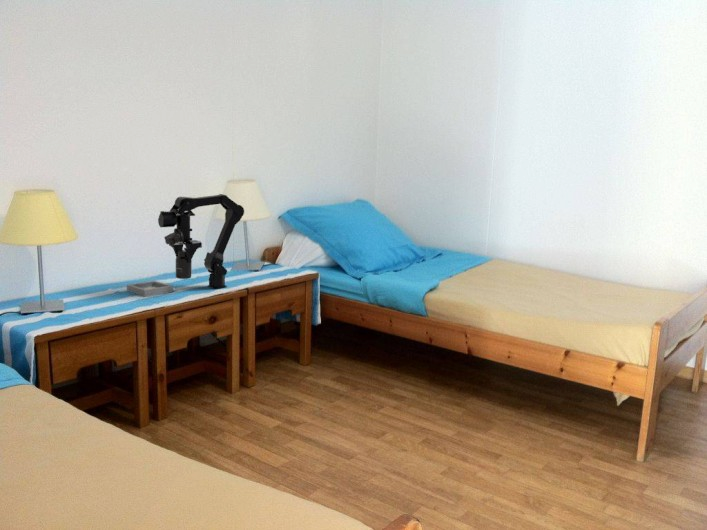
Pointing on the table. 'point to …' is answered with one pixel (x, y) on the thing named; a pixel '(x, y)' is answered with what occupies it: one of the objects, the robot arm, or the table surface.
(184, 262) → the supplement bottle
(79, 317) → the table surface
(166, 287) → the tray
